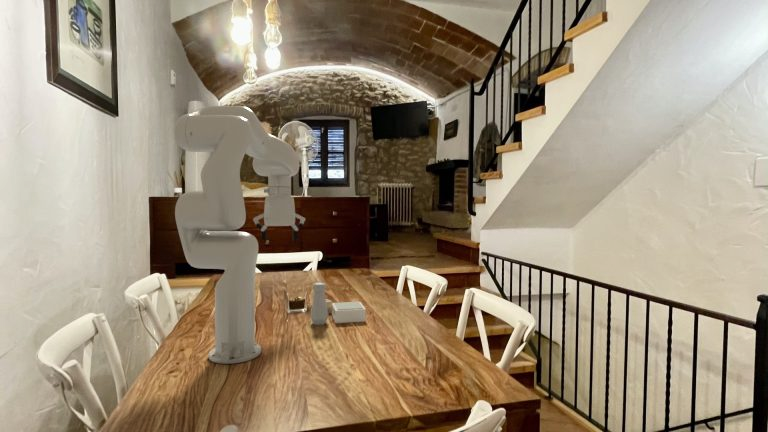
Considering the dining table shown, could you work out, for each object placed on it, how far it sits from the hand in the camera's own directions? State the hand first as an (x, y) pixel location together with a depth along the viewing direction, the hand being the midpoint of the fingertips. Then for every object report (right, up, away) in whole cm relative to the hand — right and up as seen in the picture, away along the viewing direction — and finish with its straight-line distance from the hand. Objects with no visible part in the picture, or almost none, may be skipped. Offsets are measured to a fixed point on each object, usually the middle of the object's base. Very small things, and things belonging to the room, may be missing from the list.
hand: (279, 242), depth 139 cm
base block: (+24, -25, -2) cm, 35 cm away
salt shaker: (+15, -26, -8) cm, 31 cm away
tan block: (+15, -25, +5) cm, 29 cm away
